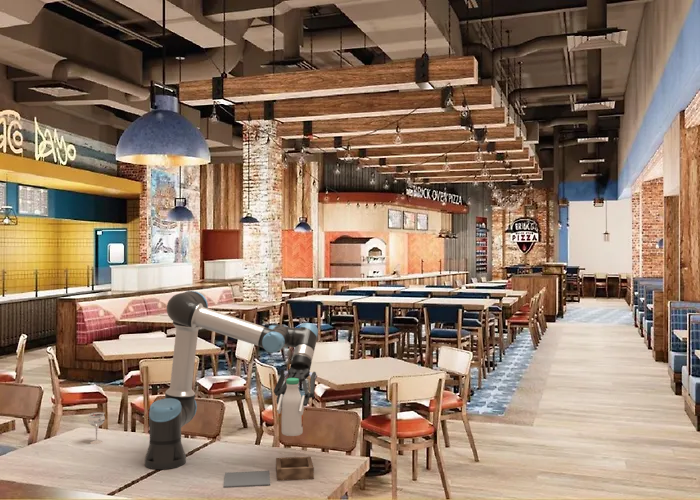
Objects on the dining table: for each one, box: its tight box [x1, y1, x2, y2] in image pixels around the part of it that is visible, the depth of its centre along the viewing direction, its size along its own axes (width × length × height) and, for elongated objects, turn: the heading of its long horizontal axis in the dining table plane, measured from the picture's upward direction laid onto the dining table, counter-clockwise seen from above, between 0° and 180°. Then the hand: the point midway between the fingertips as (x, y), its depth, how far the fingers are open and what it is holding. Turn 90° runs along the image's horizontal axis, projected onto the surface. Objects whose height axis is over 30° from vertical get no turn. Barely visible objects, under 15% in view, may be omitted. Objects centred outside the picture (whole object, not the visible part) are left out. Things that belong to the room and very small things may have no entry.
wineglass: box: [87, 411, 106, 445], centre depth 289 cm, size 7×7×12 cm
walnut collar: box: [275, 455, 315, 481], centre depth 251 cm, size 13×13×4 cm
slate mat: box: [223, 470, 271, 489], centre depth 245 cm, size 16×14×1 cm
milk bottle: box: [281, 377, 304, 437], centre depth 251 cm, size 8×8×20 cm
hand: (289, 412), depth 247 cm, fingers closed on milk bottle, 8 cm apart
